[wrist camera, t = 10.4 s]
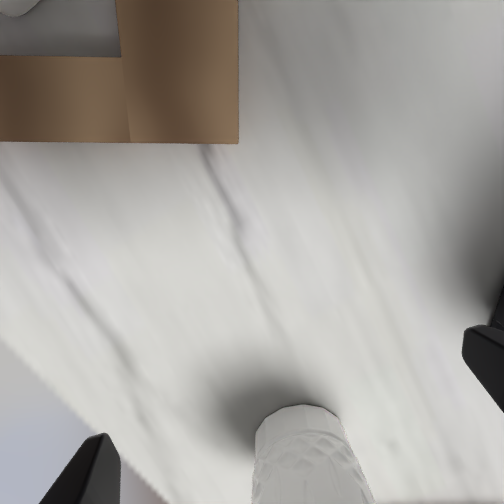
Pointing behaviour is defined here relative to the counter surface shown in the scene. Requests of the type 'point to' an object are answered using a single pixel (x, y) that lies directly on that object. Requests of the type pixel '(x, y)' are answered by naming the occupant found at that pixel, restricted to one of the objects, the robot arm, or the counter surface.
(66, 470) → the robot arm
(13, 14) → the eye dropper bottle
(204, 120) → the walnut square frame
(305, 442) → the white cup
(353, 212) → the counter surface
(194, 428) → the counter surface
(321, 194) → the counter surface
